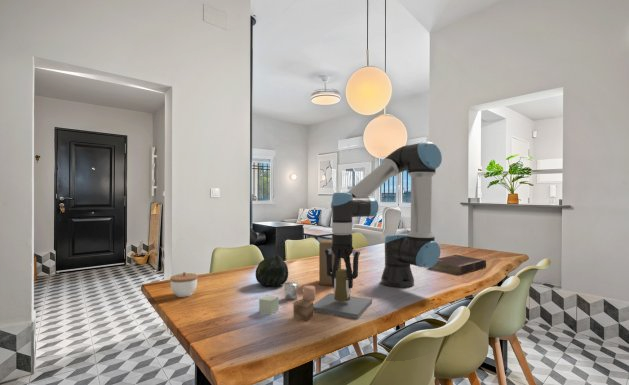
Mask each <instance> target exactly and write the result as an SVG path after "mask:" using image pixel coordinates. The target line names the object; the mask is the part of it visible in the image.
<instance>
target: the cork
mask: <svg viewBox="0 0 629 385" xmlns="http://www.w3.org/2000/svg"><path fill="white" fill-rule="evenodd" d="M335 276H336V278H337V281H336V290H335V297H334V299H335V300H336V301H349V300H350V296H351V294H350V295H349V297H348V298H347V291H346V280H347V279H348V276H347V271H346V268H341V269H338V270H336V273H335Z"/></svg>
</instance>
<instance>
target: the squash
mask: <svg viewBox="0 0 629 385" xmlns="http://www.w3.org/2000/svg"><path fill="white" fill-rule="evenodd" d="M288 278H289V268H288V264H287V263H286V262H285V260H283V258H282V257H281V256H280V255H278V254H273V255H271V256H269V257H266V258H264V259H262V260H261V261H260V262H259V263H258V265H257V266H256V269H255V279H256V281H257V283H259V285H261V286H264V287H265V286H272V287H281V286H283V285H285V283H287V281H288Z"/></svg>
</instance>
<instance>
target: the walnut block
mask: <svg viewBox="0 0 629 385" xmlns="http://www.w3.org/2000/svg"><path fill="white" fill-rule="evenodd" d="M313 304H314V301H312V302H308V301H303V299H302V300H299V301H297V302H295V303H294V304H293V320H296V321H302V322H307V323H308V322H309V321H310V320H311V319H312V318H313V317H314V311H313Z"/></svg>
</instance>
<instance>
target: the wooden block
mask: <svg viewBox="0 0 629 385" xmlns="http://www.w3.org/2000/svg"><path fill="white" fill-rule="evenodd" d="M318 247H319V249H318V250H319V251H318V252H319V254H318V257H319V258H318V262H319V263H318V264H319V266H318V268H319V271H318V273H319V274H318V275H319V277H318V278H319V282H318V283H319V285H322V286H325V285H326V286H332V277H331V276H328V275H327V257H326V253H325V250H327V249H331V247H332V239H325V238H324V239H321V240H320V242H319V245H318ZM334 258H335V255H334V253H333V251H332V271H333V266H334ZM338 269H342V258H341V259H340V262H339V267H338Z"/></svg>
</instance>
